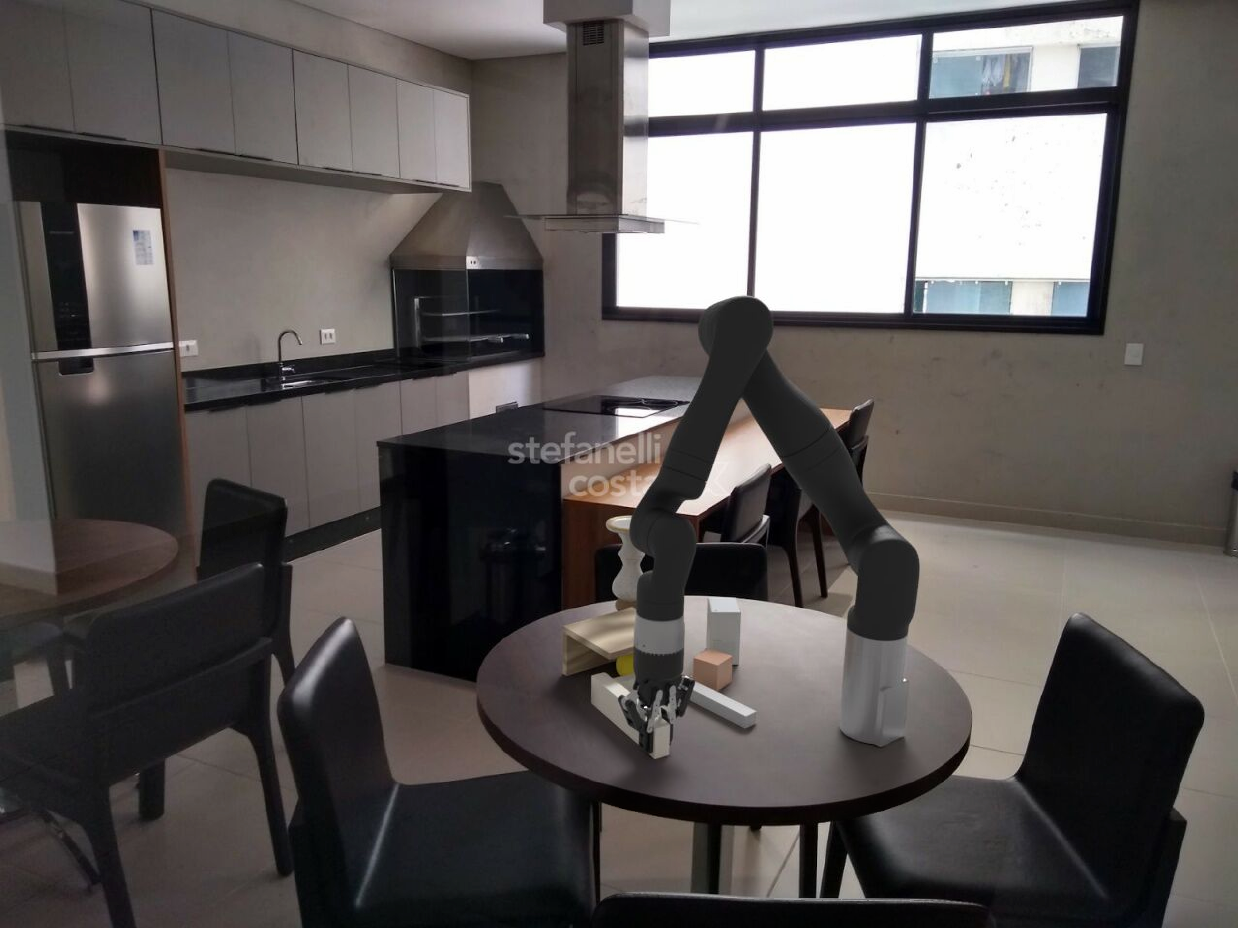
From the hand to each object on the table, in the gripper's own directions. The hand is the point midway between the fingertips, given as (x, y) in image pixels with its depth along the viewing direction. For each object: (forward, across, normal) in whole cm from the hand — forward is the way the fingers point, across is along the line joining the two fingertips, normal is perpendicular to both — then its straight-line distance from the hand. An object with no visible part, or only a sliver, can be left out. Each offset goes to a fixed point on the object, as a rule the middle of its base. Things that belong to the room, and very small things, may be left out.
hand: (655, 747), depth 134 cm
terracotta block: (+1, +23, +12) cm, 26 cm away
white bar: (+1, +4, +8) cm, 9 cm away
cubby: (+1, +11, +23) cm, 26 cm away
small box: (+1, +32, +19) cm, 37 cm away
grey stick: (+1, +17, +4) cm, 17 cm away
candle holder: (+1, +23, +36) cm, 43 cm away
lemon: (+1, +13, +22) cm, 25 cm away
